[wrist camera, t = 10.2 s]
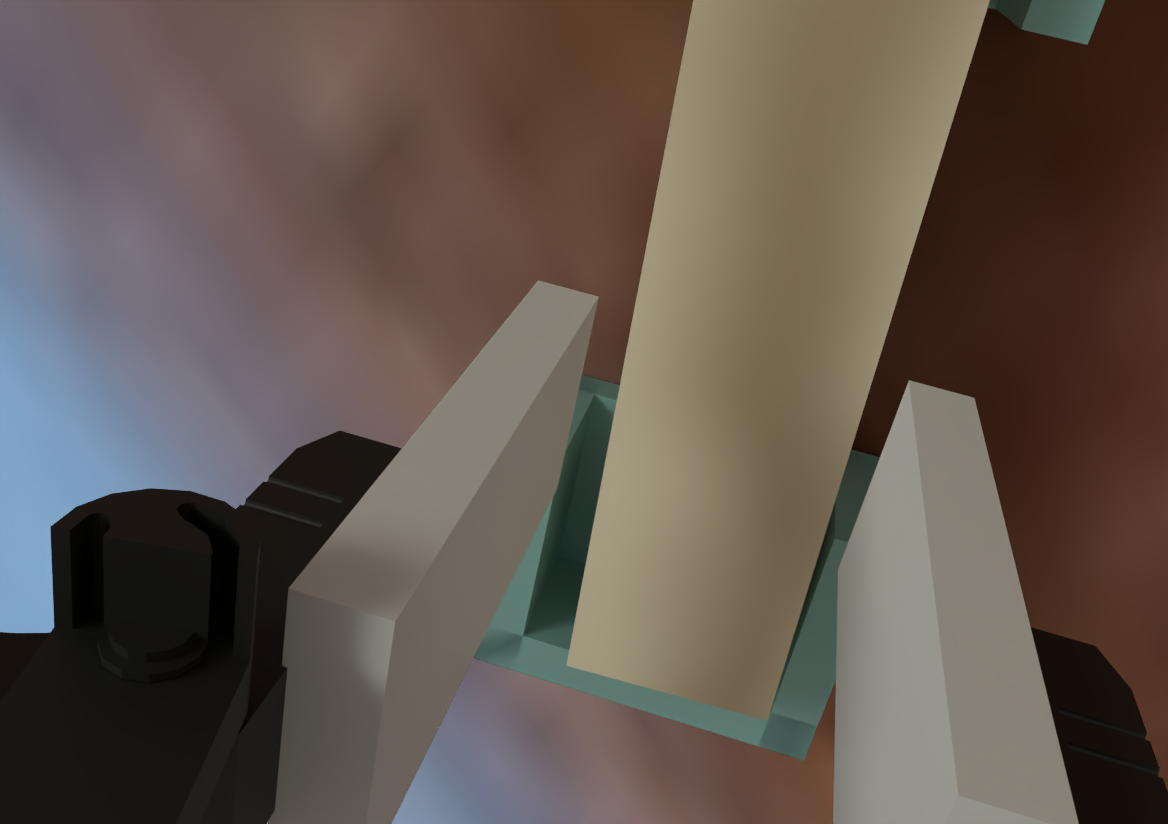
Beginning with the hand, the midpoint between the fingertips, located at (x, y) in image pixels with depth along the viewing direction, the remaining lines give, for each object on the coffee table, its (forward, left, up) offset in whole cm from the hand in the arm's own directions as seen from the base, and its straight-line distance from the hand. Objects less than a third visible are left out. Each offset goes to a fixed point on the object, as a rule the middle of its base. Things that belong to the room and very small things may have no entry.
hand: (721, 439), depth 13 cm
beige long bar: (0, 0, -10) cm, 10 cm away
